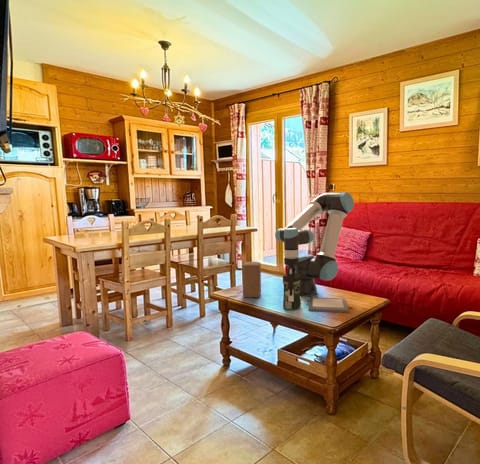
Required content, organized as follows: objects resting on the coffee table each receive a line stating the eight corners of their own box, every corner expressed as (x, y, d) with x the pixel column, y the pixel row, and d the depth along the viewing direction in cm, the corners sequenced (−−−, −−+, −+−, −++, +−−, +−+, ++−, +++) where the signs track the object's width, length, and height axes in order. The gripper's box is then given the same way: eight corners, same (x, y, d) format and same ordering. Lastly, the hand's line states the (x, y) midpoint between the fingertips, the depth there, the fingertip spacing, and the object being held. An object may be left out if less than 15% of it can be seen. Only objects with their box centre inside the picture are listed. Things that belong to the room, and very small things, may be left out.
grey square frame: (309, 299, 202) (309, 296, 202) (345, 300, 198) (345, 297, 198) (308, 310, 183) (308, 307, 183) (348, 312, 179) (348, 309, 178)
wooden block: (259, 298, 206) (258, 265, 204) (242, 297, 208) (241, 264, 206) (261, 293, 216) (260, 261, 214) (245, 293, 218) (244, 261, 216)
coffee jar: (291, 303, 195) (290, 271, 193) (303, 306, 189) (302, 273, 187) (280, 308, 188) (279, 274, 186) (292, 311, 182) (292, 276, 180)
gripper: (285, 253, 197) (286, 292, 199) (282, 261, 175) (282, 304, 178) (299, 253, 195) (299, 292, 198) (297, 261, 174) (297, 305, 176)
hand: (291, 298), depth 188 cm, fingers closed on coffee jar, 9 cm apart
